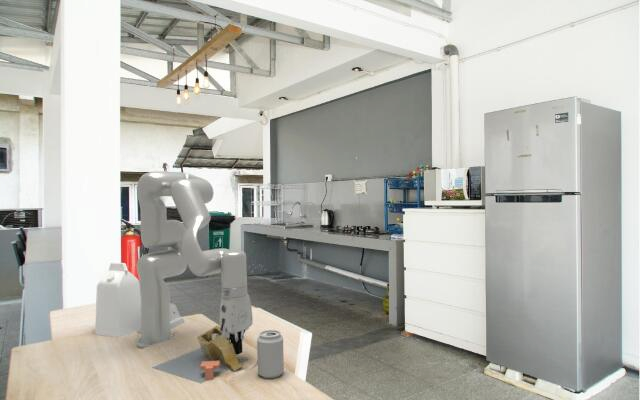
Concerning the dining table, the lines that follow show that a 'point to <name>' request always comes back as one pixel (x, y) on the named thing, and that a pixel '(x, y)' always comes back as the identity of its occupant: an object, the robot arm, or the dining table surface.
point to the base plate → (191, 366)
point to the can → (270, 354)
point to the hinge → (175, 316)
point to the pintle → (214, 335)
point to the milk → (118, 302)
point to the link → (219, 349)
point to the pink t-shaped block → (209, 368)
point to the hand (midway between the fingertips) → (236, 352)
